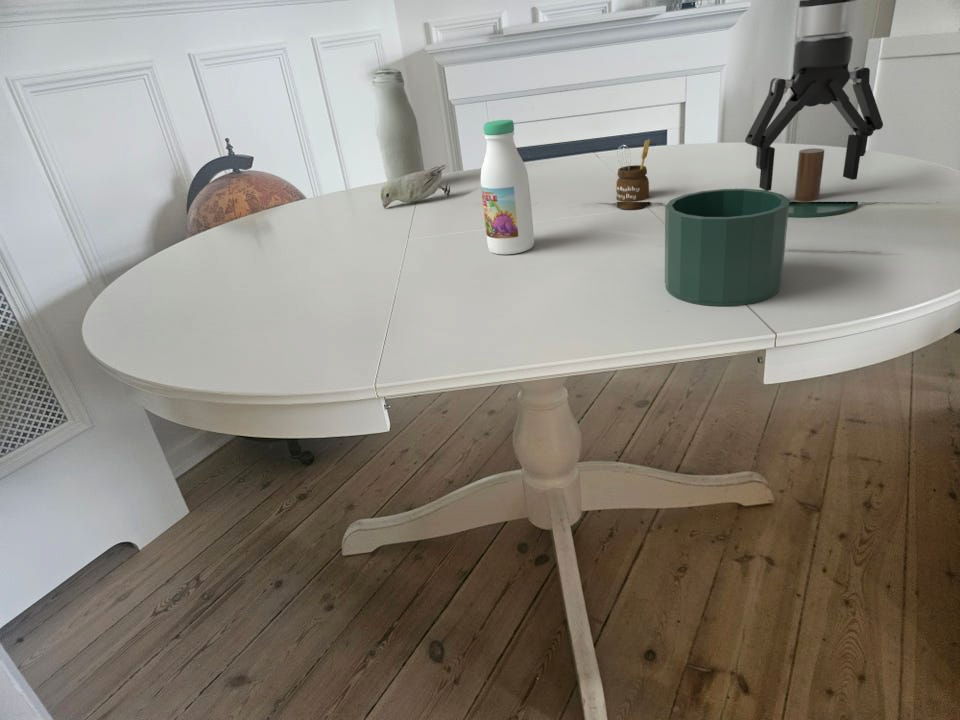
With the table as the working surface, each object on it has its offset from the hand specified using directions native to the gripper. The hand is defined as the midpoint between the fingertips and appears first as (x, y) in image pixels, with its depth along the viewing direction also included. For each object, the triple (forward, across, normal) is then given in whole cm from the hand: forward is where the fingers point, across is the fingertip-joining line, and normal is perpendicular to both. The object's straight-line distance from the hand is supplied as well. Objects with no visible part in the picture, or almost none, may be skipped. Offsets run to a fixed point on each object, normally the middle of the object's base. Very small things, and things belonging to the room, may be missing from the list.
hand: (807, 183), depth 102 cm
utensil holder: (+4, +24, -15) cm, 29 cm away
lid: (+3, 0, 0) cm, 3 cm away
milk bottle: (+4, +49, +1) cm, 49 cm away
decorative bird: (+5, +67, -43) cm, 80 cm away
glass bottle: (+5, +71, -59) cm, 92 cm away
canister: (+4, +24, +28) cm, 37 cm away
